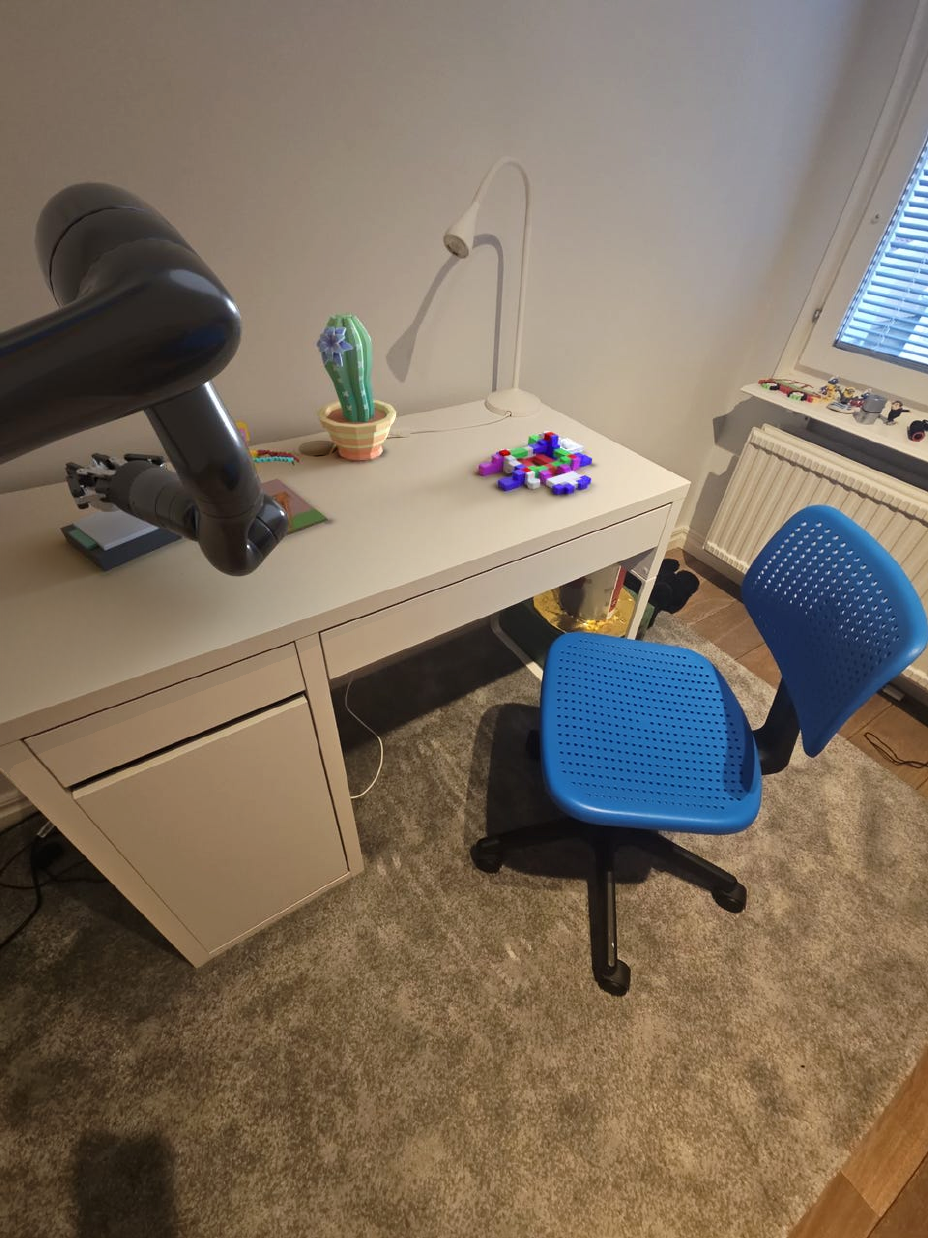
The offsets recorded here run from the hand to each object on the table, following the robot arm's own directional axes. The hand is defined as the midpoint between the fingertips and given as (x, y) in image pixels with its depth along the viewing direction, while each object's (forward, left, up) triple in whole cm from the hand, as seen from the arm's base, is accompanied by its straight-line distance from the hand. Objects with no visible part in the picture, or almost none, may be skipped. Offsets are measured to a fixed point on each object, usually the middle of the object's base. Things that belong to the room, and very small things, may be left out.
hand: (83, 464), depth 77 cm
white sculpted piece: (0, -3, -6) cm, 7 cm away
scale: (0, -3, -12) cm, 12 cm away
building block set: (+66, -38, -12) cm, 77 cm away
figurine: (+19, -11, -12) cm, 25 cm away
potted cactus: (+47, -5, -12) cm, 49 cm away
